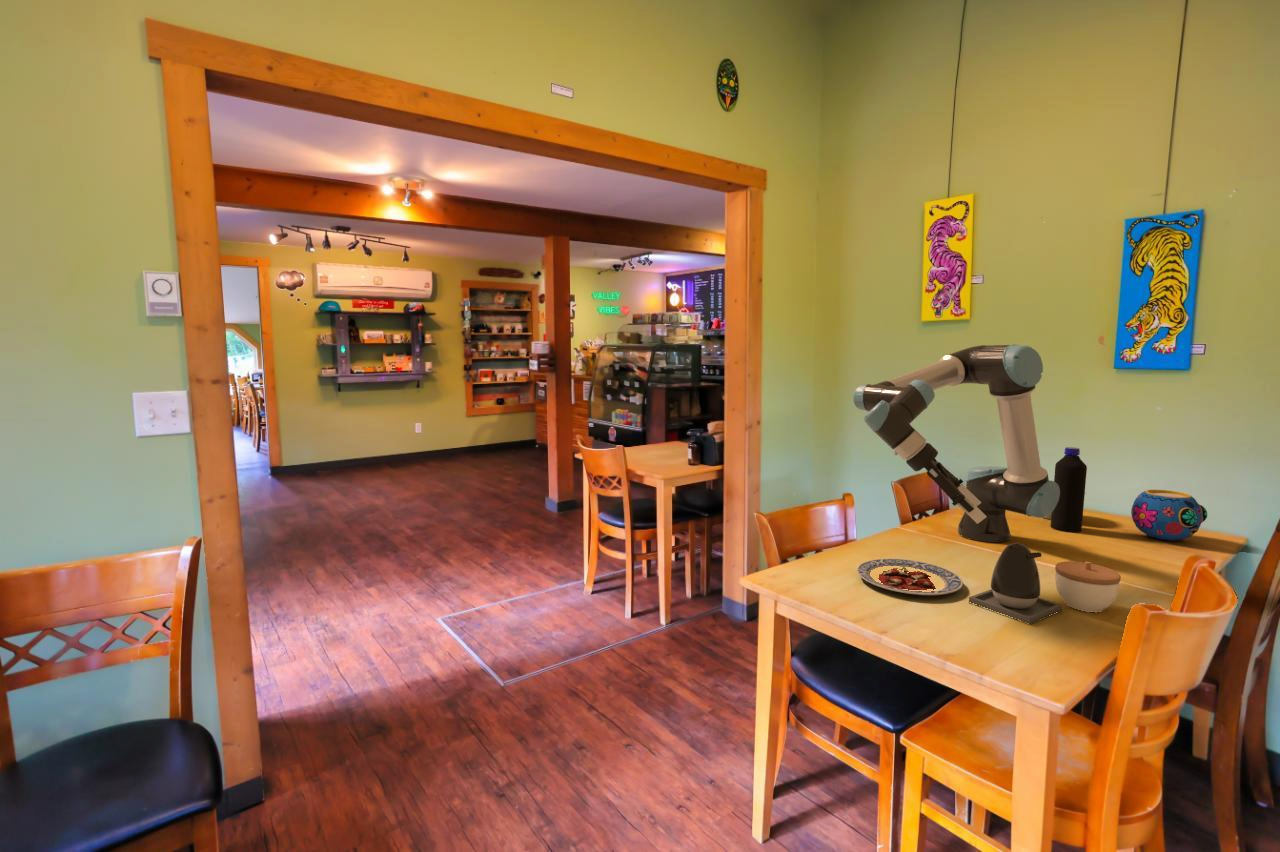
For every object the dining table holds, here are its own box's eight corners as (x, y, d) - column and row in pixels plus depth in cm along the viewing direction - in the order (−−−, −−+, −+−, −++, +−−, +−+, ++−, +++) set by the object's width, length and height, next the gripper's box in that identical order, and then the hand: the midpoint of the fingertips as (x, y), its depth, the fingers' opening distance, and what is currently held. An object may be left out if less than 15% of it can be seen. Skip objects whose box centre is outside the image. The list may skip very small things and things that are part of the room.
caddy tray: (968, 602, 151) (969, 597, 150) (1001, 591, 158) (1001, 585, 158) (1029, 624, 139) (1029, 618, 138) (1061, 611, 146) (1062, 604, 146)
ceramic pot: (1187, 550, 189) (1192, 502, 187) (1118, 535, 204) (1123, 491, 202) (1209, 541, 198) (1214, 495, 196) (1142, 527, 213) (1147, 485, 211)
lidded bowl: (1130, 614, 144) (1135, 568, 143) (1090, 620, 140) (1094, 574, 139) (1078, 593, 156) (1082, 551, 155) (1040, 599, 152) (1043, 556, 151)
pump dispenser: (1023, 617, 141) (1028, 553, 139) (980, 601, 150) (984, 540, 148) (1049, 608, 146) (1054, 546, 144) (1005, 593, 155) (1010, 534, 153)
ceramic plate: (969, 608, 148) (970, 596, 148) (855, 594, 157) (856, 583, 156) (955, 572, 172) (956, 561, 172) (857, 561, 181) (857, 552, 180)
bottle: (1054, 530, 210) (1060, 449, 206) (1047, 524, 218) (1053, 445, 214) (1085, 533, 206) (1092, 450, 203) (1077, 526, 215) (1083, 446, 211)
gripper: (905, 452, 173) (963, 509, 169) (903, 470, 150) (970, 536, 146) (926, 434, 170) (986, 491, 166) (928, 450, 147) (997, 516, 143)
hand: (979, 512), depth 156 cm, fingers open, 13 cm apart
